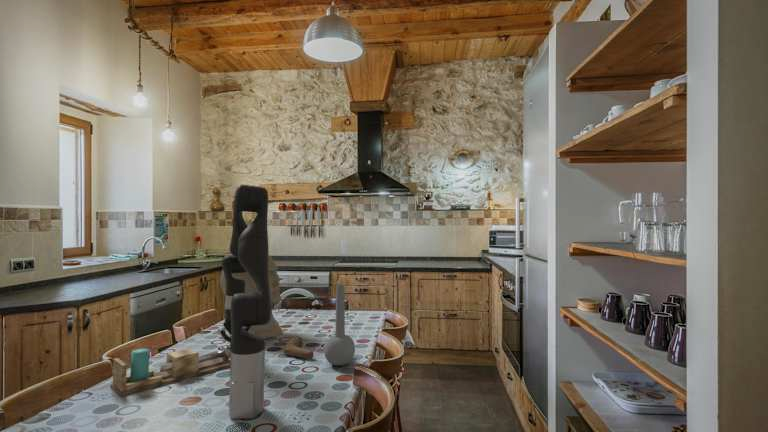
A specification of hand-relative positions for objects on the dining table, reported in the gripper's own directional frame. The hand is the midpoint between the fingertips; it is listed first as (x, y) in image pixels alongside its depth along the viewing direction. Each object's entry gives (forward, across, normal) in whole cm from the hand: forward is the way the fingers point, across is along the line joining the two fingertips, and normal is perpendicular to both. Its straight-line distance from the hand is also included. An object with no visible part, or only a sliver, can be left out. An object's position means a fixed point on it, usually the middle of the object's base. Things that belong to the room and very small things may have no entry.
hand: (234, 351), depth 153 cm
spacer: (+3, -32, 0) cm, 33 cm away
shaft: (+2, -14, 0) cm, 14 cm away
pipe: (+4, +22, -12) cm, 26 cm away
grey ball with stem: (+4, +28, -30) cm, 41 cm away
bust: (+4, +24, +31) cm, 39 cm away
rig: (+4, -21, 0) cm, 21 cm away
